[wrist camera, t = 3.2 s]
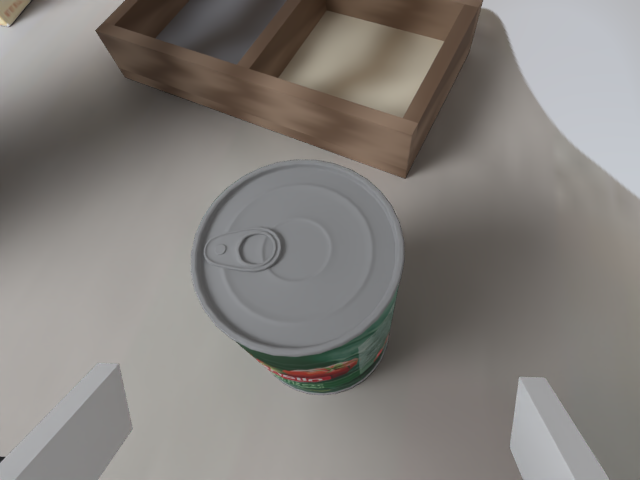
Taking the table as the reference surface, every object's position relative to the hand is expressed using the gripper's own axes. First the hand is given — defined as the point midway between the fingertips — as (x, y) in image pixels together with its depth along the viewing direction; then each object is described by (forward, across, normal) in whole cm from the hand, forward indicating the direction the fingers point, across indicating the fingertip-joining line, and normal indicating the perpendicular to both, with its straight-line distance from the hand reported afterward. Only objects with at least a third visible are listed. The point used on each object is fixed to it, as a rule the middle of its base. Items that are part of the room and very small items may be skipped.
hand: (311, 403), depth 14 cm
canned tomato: (+11, -1, -3) cm, 12 cm away
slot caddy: (+26, -4, +12) cm, 29 cm away
